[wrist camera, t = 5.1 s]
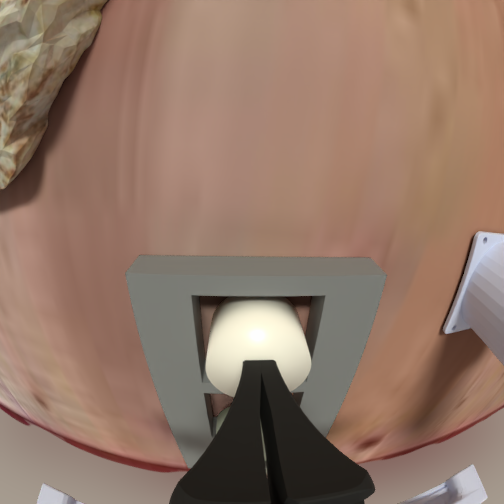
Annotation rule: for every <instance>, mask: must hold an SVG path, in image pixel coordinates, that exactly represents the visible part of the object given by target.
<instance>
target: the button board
mask: <svg viewBox="0 0 504 504" xmlns="http://www.w3.org/2000/svg"><path fill="white" fill-rule="evenodd" d="M125 274H126V280H127V285H128V290H129V294H130V299H131V303H132V308H133V312H134V316H135V320H136V324H137V328H138V332H139V336H140V340H141V343H142V347H143V350H144V354H145V357H146V361H147V364H148V367H149V370H150V373H151V376H152V379H153V382H154V385H155V388H156V391H157V394H158V397H159V400H160V402H161V405H162V408H163V410H164V413H165V416H166V418H167V421H168V423H169V426H170V428H171V430H172V433H173V435H174V438H175V440H176V442H177V444H178V447H179V449H180V451H181V453H182V455H183V458H184V460H185V462H186V464H187V466H188V468H192V467H193V466H194V464H195V463H196V462H197V461H198V459H199V458H200V457H201V455H202V454H203V453H204V452H205V450H206V449H207V447H208V446H209V445H210V443H211V442H212V440H213V438H214V437H215V435H216V424H217V417H213V413H212V407H211V400H210V393H214V394H225V393H223V392H221V391H220V390H218V389H217V388H216V387H215V386H214V385H213V384H212V383H211V382H210V380H209V379H208V376H207V374H206V359H205V353H204V343H203V334H202V324H201V313H200V301H199V295H201V296H312V301H311V307H310V313H309V319H308V324H307V330H306V336H305V339H306V343H307V346H308V350H309V353H310V357H311V369H310V372H309V374H308V376H307V378H306V379H305V380H304V382H303V383H302V384H301V385H300V386H298V387H297V388H296V389H294V390H293V391H291V393H293V392H294V394H293V397H294V399H295V401H296V402H297V404H298V405H299V406H300V408H301V409H302V411H303V412H304V414H305V415H306V416H307V417H308V419H309V420H310V421H311V422H312V424H313V425H314V426H315V427H316V428H317V429H318V430H319V432H320V433H321V434H322V435H323V436H324V437H325V438H326V436H327V434H328V432H329V430H330V428H331V426H332V424H333V422H334V420H335V418H336V416H337V414H338V412H339V410H340V407H341V405H342V403H343V401H344V399H345V396H346V394H347V392H348V389H349V387H350V385H351V382H352V380H353V377H354V375H355V372H356V370H357V367H358V365H359V362H360V359H361V357H362V354H363V351H364V349H365V346H366V343H367V340H368V337H369V334H370V331H371V328H372V325H373V322H374V319H375V316H376V312H377V309H378V306H379V302H380V299H381V295H382V292H383V288H384V284H385V280H386V276H387V274H386V273H385V272H384V271H383V270H382V269H381V268H380V267H379V266H378V265H377V264H376V263H375V262H374V261H373V260H372V259H371V258H347V257H234V256H158V255H139V256H138V258H137V259H136V260H135V261H134V263H133V264H132V265H131V266H130V268H129V269H128V270H127V272H126V273H125Z"/></svg>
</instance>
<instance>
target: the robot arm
mask: <svg viewBox="0 0 504 504" xmlns="http://www.w3.org/2000/svg"><path fill="white" fill-rule="evenodd" d="M470 328H472V330H473V331H474V332H475V333H476V334H477V335H478V336H479V337H480V338H481V340H482V341H483V342H484V343H485V344H486V345H487V346H488V348H489V349H490V350H491V351H492V352H493V353H494V355H495V356H496V357H497V358H498V359H499V361H500V362H501V363H502V364H503V366H504V234H500V233H491V232H482V231H479V232H477V233H476V234H475V236H474V239H473V243H472V247H471V251H470V255H469V258H468V262H467V265H466V268H465V271H464V274H463V278H462V281H461V283H460V286H459V289H458V292H457V295H456V297H455V300H454V303H453V305H452V308H451V310H450V313H449V315H448V318H447V320H446V322H445V325H444V327H443V331H444V332H445V334H449V333H453V332H458V331H462V330H466V329H470ZM260 421H261V423H260ZM261 427H262V433H263V439H264V445H265V452H266V465H267V474H266V467H265V459H264V451H263V442H262V433H261ZM374 491H375V487H374V484H373V481H372V479H371V477H370V475H369V473H368V472H367V470H365V469H364V468H362V467H361V466H359V465H358V464H356V463H355V462H353V461H352V460H351V459H349V458H348V457H347V456H345V455H344V454H343V453H342V452H340V451H339V450H338V449H337V448H336V447H335V446H334V445H333V444H332V443H330V442H329V441H328V440H327V439H326V438H325V437H324V436H323V435H322V434H321V433H320V432H319V430H318V429H317V428H316V427H315V426H314V425H313V424H312V422H311V421H310V420H309V419H308V417H307V416H306V415H305V414H304V412H303V411H302V409H301V408H300V406H299V405H298V404H297V402H296V401H295V399H294V397H293V396H292V394H291V392H290V391H289V389H288V387H287V385H286V384H285V382H284V380H283V378H282V376H281V373H280V371H279V369H278V366H277V364H276V361H274V360H245V361H243V367H242V373H241V378H240V381H239V385H238V388H237V391H236V394H235V397H234V399H233V402H232V404H231V406H230V409H229V411H228V413H227V415H226V417H225V419H224V421H223V423H222V425H221V427H220V428H219V430H218V432H217V434H216V435H215V437H214V438H213V440H212V442H211V443H210V445H209V446H208V447H207V449H206V450H205V452H204V453H203V454H202V455H201V457H200V458H199V459H198V461H197V462H196V463H195V464H194V466H193V467H192V468H191V469H190V470H189V471H188V472H187V473H186V474H185V475H184V477H183V478H182V479H181V480H180V481H179V482H178V484H177V486H176V488H175V489H174V491H173V493H172V496H171V499H170V503H169V504H364V499H366V498H368V497H369V496H370V495H372V494H373V493H374ZM486 499H487V495H486V492H485V490H484V487H483V485H482V483H481V480H480V478H479V476H478V474H477V472H476V469H475V467H474V465H473V464H471V465H470V466H468V467H466V468H465V469H463V470H461V471H460V472H458V473H456V474H455V475H453V476H452V477H451V478H449V479H448V480H446V482H444V483H442V484H440V485H438V486H436V487H434V488H432V489H430V490H428V491H426V492H424V493H422V494H419V495H417V496H415V497H413V498H410V499H408V500H405V501H403V502H400V503H398V504H481V503H482V502H483V501H485V500H486ZM37 504H85V503H82V502H80V501H77V500H75V499H74V498H73V497H71V496H69V495H68V494H66V493H63V492H62V491H59V490H57V489H55V488H53V487H51V486H49V485H47V484H45V483H43V484H42V487H41V491H40V494H39V497H38V501H37Z"/></svg>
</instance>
